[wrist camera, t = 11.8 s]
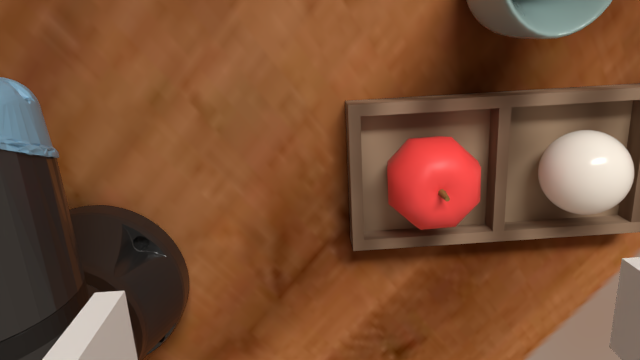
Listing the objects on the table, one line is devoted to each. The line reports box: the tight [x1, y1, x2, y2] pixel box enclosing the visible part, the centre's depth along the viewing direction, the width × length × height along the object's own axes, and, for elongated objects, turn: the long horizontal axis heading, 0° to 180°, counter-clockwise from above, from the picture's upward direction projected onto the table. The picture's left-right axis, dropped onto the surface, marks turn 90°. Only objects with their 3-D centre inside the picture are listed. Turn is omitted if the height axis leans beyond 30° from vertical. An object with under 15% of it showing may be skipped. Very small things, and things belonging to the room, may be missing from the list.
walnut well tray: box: [345, 83, 640, 251], centre depth 43 cm, size 26×13×2 cm, turn 93°
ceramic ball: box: [538, 130, 634, 215], centre depth 40 cm, size 7×7×7 cm
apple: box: [387, 136, 481, 230], centre depth 40 cm, size 8×8×8 cm
